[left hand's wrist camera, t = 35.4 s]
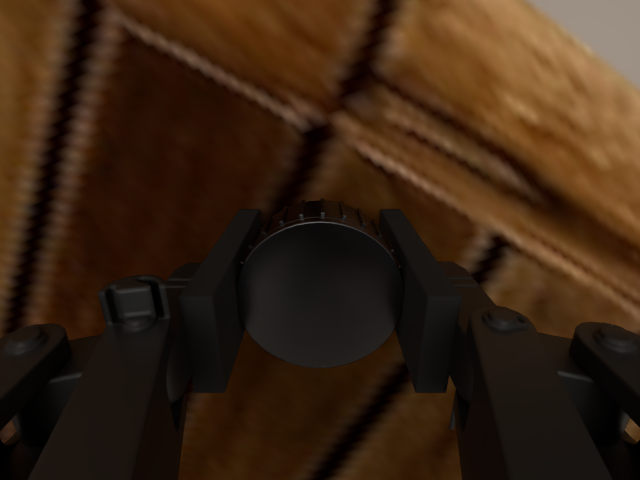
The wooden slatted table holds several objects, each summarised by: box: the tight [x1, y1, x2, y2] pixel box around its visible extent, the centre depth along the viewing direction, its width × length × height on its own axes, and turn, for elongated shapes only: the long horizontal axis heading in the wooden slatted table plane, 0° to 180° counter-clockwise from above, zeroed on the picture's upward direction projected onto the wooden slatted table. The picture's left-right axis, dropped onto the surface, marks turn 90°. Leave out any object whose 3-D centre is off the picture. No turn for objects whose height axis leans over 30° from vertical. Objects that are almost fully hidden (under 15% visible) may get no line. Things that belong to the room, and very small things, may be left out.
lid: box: [236, 199, 404, 368], centre depth 11 cm, size 5×5×2 cm
